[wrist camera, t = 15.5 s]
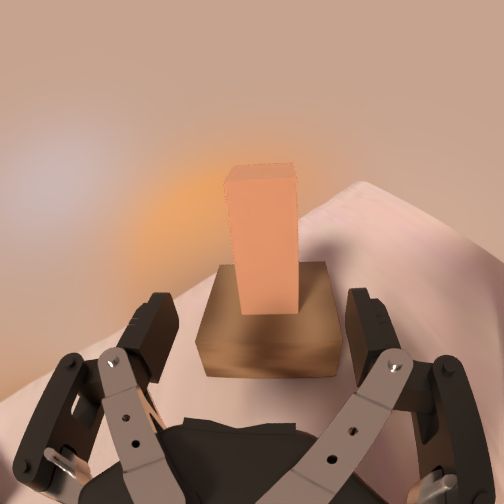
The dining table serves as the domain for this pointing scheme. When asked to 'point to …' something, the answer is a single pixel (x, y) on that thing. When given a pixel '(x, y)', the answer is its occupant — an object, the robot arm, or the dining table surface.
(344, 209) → the dining table surface
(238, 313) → the walnut block
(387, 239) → the dining table surface
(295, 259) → the terracotta block
